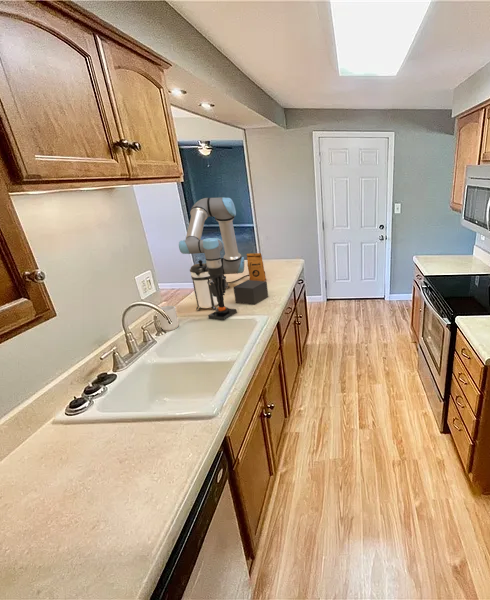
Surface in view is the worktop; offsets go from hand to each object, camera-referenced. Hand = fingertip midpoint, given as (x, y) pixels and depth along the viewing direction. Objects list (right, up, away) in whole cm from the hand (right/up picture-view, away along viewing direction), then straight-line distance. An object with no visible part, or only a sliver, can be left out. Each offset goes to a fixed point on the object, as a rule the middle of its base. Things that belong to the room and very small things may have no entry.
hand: (221, 306), depth 189 cm
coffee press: (-15, -1, +15) cm, 21 cm away
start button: (0, -2, +1) cm, 2 cm away
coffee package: (-1, +18, +66) cm, 69 cm away
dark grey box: (+8, +4, +27) cm, 28 cm away
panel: (0, -5, +2) cm, 6 cm away
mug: (-22, -11, -12) cm, 27 cm away
